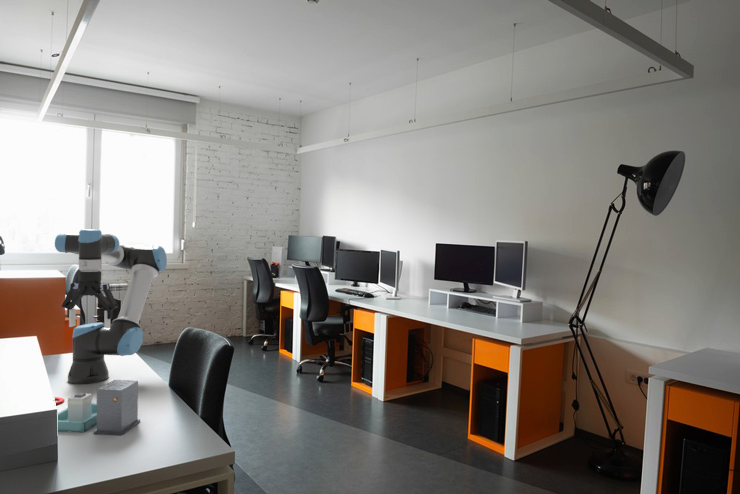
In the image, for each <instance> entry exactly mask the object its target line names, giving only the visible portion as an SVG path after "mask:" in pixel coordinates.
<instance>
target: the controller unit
mask: <svg viewBox="0 0 740 494" xmlns="http://www.w3.org/2000/svg"><path fill="white" fill-rule="evenodd" d="M138 389H139V381H138V380H126V379H124V380H123V379H113V380H111V381H110V382H107V383H105V384H104V385H102V386H100V387H98V388H97V389H96V403H97V424H96V429H95V430H94V431H93V435H107V436H110V435H111V436H123V435H125V434H126V433H127V432H129V431H130V430H132V428H134V427H135V426H137V425H138V424H140V422H141V419H138V418H139V417H138V415H139V414H138V411H139V410H138V409H139V407H138V405H139V402H138V401H139V399H138V397H139V395H138V394H139V390H138Z"/></svg>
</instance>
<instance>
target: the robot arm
mask: <svg viewBox="0 0 740 494" xmlns="http://www.w3.org/2000/svg"><path fill="white" fill-rule="evenodd" d="M54 248H55V250H56V251H57V252H59V253H65V254H68V253H69V254H75V255H78V270H79V272H78V282H79V283H77V282H72V283H70V287H69V291H68V292H67V293H66V296H65V298H64V300H63V302H62V304H61V307H62V308H64V309H66V310H67V311H66V315H67V318H68V328H72V327H73V331H72V338H71V339H72V363H71V366H70V369H69V371H68V374H67V382H68V383H70V384H73V385H74V384H76V385H77V384H79V385H81V384H83V385H84V384H93V383H98V382H101V381H102V382H103V381H105V380H107V379H108V378H109V370H108V367H107V363H106V361H105V356H121V357H124V356H133V355H134V354H136V353H137V352H139V350H140V348H141V346H142V344H143V341H144V338H143V337H144V332H143V330H142V327H141V324H139V323H140V319H141V317H142V313H143V310H144V307H145V304H146V301H147V298H148V295H149V292H150V290H151V285H152V283H153V280H154V279H155V278H157V277H158V276H159V273H160V272H163V271H165V270H166V268H167V254H166V250H165V249H164V247H162V246H160V245H154V244H153V245H139V244H138V245H136V244H135V245H133V244H130V245H129V244H128V245H123V244H122V245H120V240H119V238H118V237H117V236H116V235H113V234H107V233H106V234H102V231H101V229H80V230H79V232H78V233H69V232H68V233H67V232H66V233H58V234H57V235H56V237H55V240H54ZM102 261H103V262H105V263H106V264H107V265H109V266H113V267H116V268H120V269H124V270H129V271H130V270H131V271H132V273H133V274H132V277H131V279H130V282H129V285H128V288H127V291H126V294H125V296H124V299H123V302H122V305H121V307H120V311H119V313H118V316H117V318H115V319H113V317H114V316H113V311H114V310H115V309H118V308H119V306H118V304H117V301H116V299H115V296H114V295H113V292H112V290H111V288H110V287H111V285H110V283H103V284H102V271H101V270H102ZM78 289H79V290H78ZM77 290H78V292H77ZM101 290H103V292H102V291H101ZM75 294H76V295H75ZM84 296H86V297H87V296H91V297H93V296H94V297H95V298H96V299H98V301H99V302H100V304H102V306H103V307H104V308H105V310H104V312H103V313H104V314H103V315H104V321H103V322H101V321H100V322H93V323H92V322H91V323H85V324H81V325H78V326H76V325H77V324H76V322H77V321H76V313H77V312H76V308H75V307H76V305H78V303H79V302H80V300H82V298H83V297H84ZM111 319H113V320H112V321H111ZM75 326H76V327H75Z"/></svg>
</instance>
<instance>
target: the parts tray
mask: <svg viewBox="0 0 740 494" xmlns="http://www.w3.org/2000/svg"><path fill="white" fill-rule="evenodd" d="M57 413H58V431H57V432H68V431H71V432H72V433H85V432H87V430H90V429H91V428H93V427H94V426H95V425H96V426H97V402H96V403H93V402H92V416H91V417H89V418H88V419H86V420H84V421H68V407H67V408H65V409H63V410H61V411H59V412H57Z"/></svg>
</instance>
